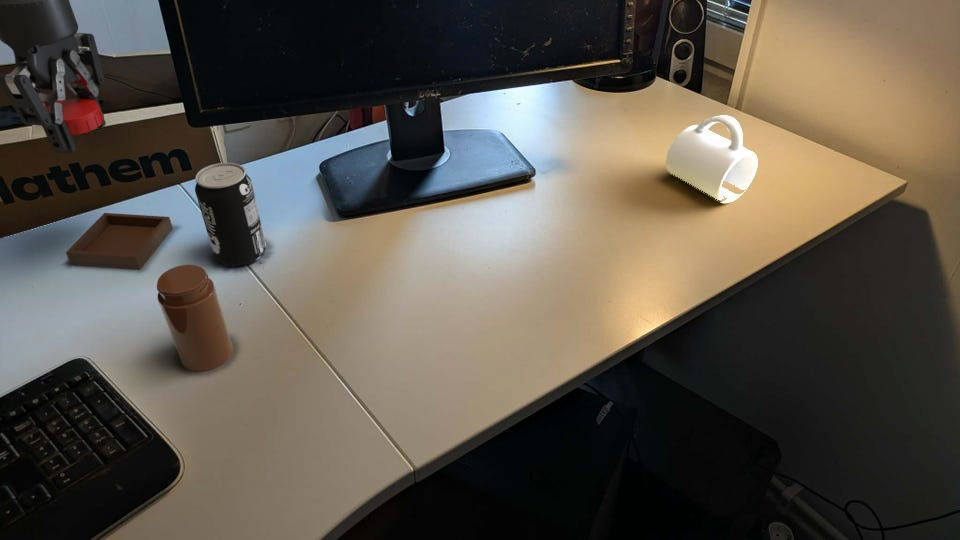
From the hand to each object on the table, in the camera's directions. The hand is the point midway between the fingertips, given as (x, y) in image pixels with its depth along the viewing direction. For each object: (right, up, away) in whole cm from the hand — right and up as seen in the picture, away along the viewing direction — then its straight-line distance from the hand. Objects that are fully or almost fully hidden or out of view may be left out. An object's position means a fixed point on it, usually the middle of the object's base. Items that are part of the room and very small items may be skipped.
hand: (82, 138), depth 78 cm
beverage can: (+16, -14, +9) cm, 23 cm away
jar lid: (0, +3, -2) cm, 3 cm away
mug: (+82, -3, +24) cm, 85 cm away
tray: (0, -12, +10) cm, 16 cm away
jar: (+17, -25, -6) cm, 31 cm away
